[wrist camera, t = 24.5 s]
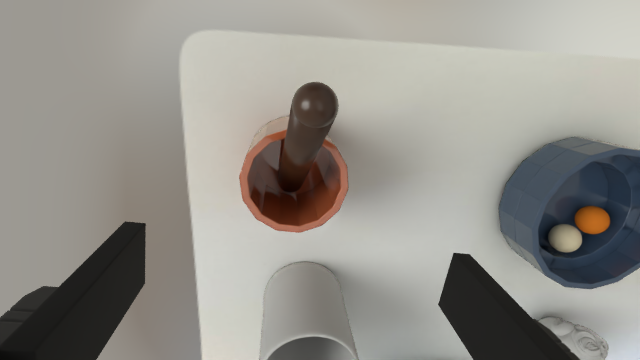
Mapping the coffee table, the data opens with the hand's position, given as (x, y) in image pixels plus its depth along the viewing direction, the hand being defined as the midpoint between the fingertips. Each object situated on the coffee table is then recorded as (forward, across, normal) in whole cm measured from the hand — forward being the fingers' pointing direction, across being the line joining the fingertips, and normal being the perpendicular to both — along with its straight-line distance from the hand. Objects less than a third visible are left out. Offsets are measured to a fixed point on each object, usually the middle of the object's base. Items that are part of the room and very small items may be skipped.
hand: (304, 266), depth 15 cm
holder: (+21, 0, 0) cm, 21 cm away
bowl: (+20, +30, -2) cm, 36 cm away
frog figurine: (+20, +34, -18) cm, 43 cm away
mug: (+20, +4, -18) cm, 27 cm away
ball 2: (+18, +32, -3) cm, 37 cm away
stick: (+20, 0, -3) cm, 20 cm away
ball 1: (+18, +30, -5) cm, 35 cm away
